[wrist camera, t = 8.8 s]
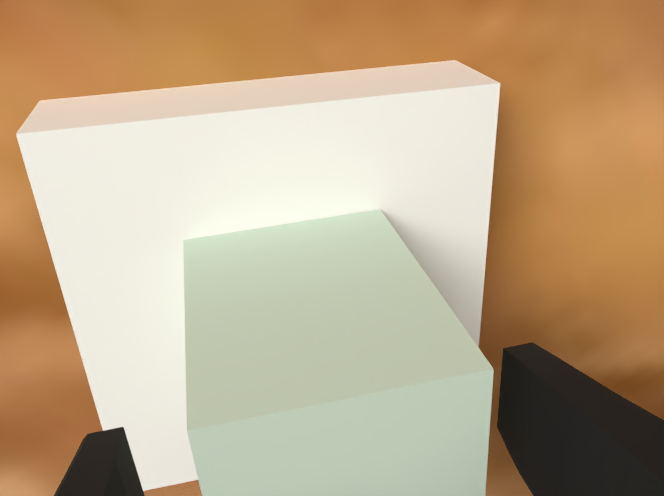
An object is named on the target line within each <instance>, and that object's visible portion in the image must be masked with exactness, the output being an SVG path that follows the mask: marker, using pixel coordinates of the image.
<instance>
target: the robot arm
mask: <svg viewBox="0 0 664 496" xmlns="http://www.w3.org/2000/svg"><path fill="white" fill-rule="evenodd" d="M497 427H498V430H499V432H500V434H501V436H502V438H503V440H504V442H505V445H506V447H507V449H508V451H509V453H510V455H511V457H512V459H513V461H514V463H515V465H516V467H517V469H518V471H519V473H520V475H521V476H522V478H523V480H524V481H525V483H526V484H527V486H528V487H529V489H530V491H531V492H532V494H533V495H534V496H664V420H662V419H660V418H658V417H657V416H655V415H653V414H651V413H649V412H648V411H646V410H644V409H642V408H640V407H639V406H637V405H635V404H633V403H632V402H630V401H628V400H627V399H625V398H623V397H621V396H620V395H618V394H616V393H615V392H613V391H611V390H610V389H608V388H606V387H605V386H603V385H601V384H600V383H598V382H596V381H595V380H593V379H592V378H590V377H588V376H587V375H585V374H583V373H582V372H580V371H579V370H577V369H575V368H574V367H572V366H570V365H569V364H567V363H566V362H564V361H562V360H561V359H559V358H558V357H556V356H554V355H553V354H551V353H549V352H548V351H546V350H544V349H543V348H541V347H539V346H537V345H536V344H534V343H528V344H523V345H518V346H513V347H508V348H503V359H502V372H501V385H500V398H499V410H498V423H497ZM54 496H144V492H143V489H142V486H141V483H140V479H139V476H138V473H137V470H136V466H135V463H134V460H133V456H132V453H131V450H130V447H129V443H128V440H127V437H126V433H125V430H124V427H119V428H114V429H109V430H105V431H100V432H95V433H90V434H87V436H86V437H85V438H84V439H83V441H82V443H81V445H80V447H79V449H78V451H77V453H76V455H75V457H74V459H73V461H72V462H71V464H70V466H69V468H68V470H67V472H66V474H65V476H64V478H63V480H62V482H61V484H60V485H59V487H58V489H57V491H56V493H55V495H54Z"/></svg>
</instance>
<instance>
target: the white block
mask: <svg viewBox="0 0 664 496" xmlns="http://www.w3.org/2000/svg"><path fill="white" fill-rule="evenodd" d="M499 94H500V83H499V82H497V81H495V80H493V79H491V78H489V77H487V76H485V75H484V74H482V73H480V72H478V71H476V70H474V69H472V68H470V67H468V66H466V65H464V64H462V63H460V62H458V61H456V60H452V61H442V62H432V63H422V64H411V65H401V66H391V67H380V68H370V69H360V70H350V71H339V72H329V73H319V74H309V75H298V76H288V77H278V78H268V79H257V80H247V81H237V82H227V83H216V84H206V85H196V86H186V87H175V88H165V89H155V90H144V91H134V92H124V93H114V94H103V95H93V96H83V97H73V98H62V99H52V100H42V101H39V102H38V104H37V105H36V107H35V108H34V110H33V111H32V112H31V114H30V115H29V117H28V118H27V119H26V121H25V122H24V124H23V125H22V126H21V128H20V129H19V131H18V132H17V133H16V136H17V139H18V143H19V146H20V150H21V153H22V156H23V160H24V163H25V167H26V170H27V173H28V177H29V180H30V184H31V187H32V190H33V194H34V197H35V201H36V204H37V207H38V211H39V214H40V218H41V221H42V224H43V228H44V231H45V235H46V238H47V241H48V245H49V248H50V252H51V255H52V259H53V262H54V265H55V269H56V272H57V276H58V279H59V282H60V286H61V289H62V293H63V296H64V299H65V303H66V306H67V310H68V313H69V316H70V320H71V323H72V327H73V330H74V333H75V337H76V340H77V344H78V347H79V350H80V354H81V357H82V361H83V364H84V368H85V371H86V374H87V378H88V381H89V385H90V388H91V391H92V395H93V398H94V402H95V405H96V408H97V412H98V415H99V419H100V422H101V425H102V429H103V431H105V430H109V429H114V428H119V427H124V430H125V433H126V437H127V440H128V443H129V447H130V450H131V453H132V456H133V460H134V463H135V466H136V470H137V473H138V476H139V479H140V483H141V486H142V489H143V491H145V490H150V489H154V488H159V487H164V486H169V485H174V484H179V483H184V482H189V481H194V480H198V476H197V472H196V467H195V463H194V459H193V455H192V450H191V446H190V442H189V438H188V433H187V407H186V355H185V303H184V251H183V240H186V239H193V238H199V237H206V236H212V235H219V234H225V233H232V232H238V231H245V230H251V229H258V228H264V227H271V226H277V225H283V224H290V223H296V222H303V221H309V220H316V219H322V218H329V217H335V216H342V215H348V214H355V213H361V212H367V211H374V210H381V211H382V212H383V214H384V215H385V217H386V218H387V219H388V221H389V222H390V224H391V225H392V227H393V228H394V229H395V231H396V232H397V234H398V235H399V236H400V238H401V239H402V241H403V242H404V243H405V245H406V246H407V248H408V249H409V250H410V252H411V253H412V255H413V256H414V257H415V259H416V260H417V262H418V263H419V265H420V266H421V267H422V269H423V270H424V272H425V273H426V274H427V276H428V277H429V279H430V280H431V281H432V283H433V284H434V286H435V287H436V288H437V290H438V291H439V293H440V294H441V295H442V297H443V298H444V300H445V301H446V303H447V304H448V305H449V307H450V308H451V310H452V311H453V312H454V314H455V315H456V317H457V318H458V319H459V321H460V322H461V324H462V325H463V326H464V328H465V329H466V331H467V332H468V333H469V335H470V336H471V338H472V339H473V341H474V342H475V343H476V345H477V346H478V348H479V337H480V325H481V313H482V301H483V289H484V277H485V264H486V252H487V240H488V228H489V216H490V204H491V191H492V179H493V167H494V155H495V143H496V130H497V118H498V106H499Z"/></svg>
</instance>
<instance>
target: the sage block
mask: <svg viewBox="0 0 664 496" xmlns="http://www.w3.org/2000/svg"><path fill="white" fill-rule="evenodd" d="M183 251H184V303H185V355H186V407H187V433H188V438H189V442H190V446H191V450H192V455H193V459H194V463H195V467H196V472H197V476H198V480H199V484H200V488H201V493H202V496H485V491H486V476H487V461H488V446H489V432H490V417H491V402H492V387H493V373H494V369H493V367H492V366H491V364H490V363H489V362H488V360H487V359H486V357H485V356H484V355H483V353H482V352H481V350H480V349H479V348H478V346H477V345H476V343H475V342H474V341H473V339H472V338H471V336H470V335H469V333H468V332H467V331H466V329H465V328H464V326H463V325H462V324H461V322H460V321H459V319H458V318H457V317H456V315H455V314H454V312H453V311H452V310H451V308H450V307H449V305H448V304H447V303H446V301H445V300H444V298H443V297H442V295H441V294H440V293H439V291H438V290H437V288H436V287H435V286H434V284H433V283H432V281H431V280H430V279H429V277H428V276H427V274H426V273H425V272H424V270H423V269H422V267H421V266H420V265H419V263H418V262H417V260H416V259H415V257H414V256H413V255H412V253H411V252H410V250H409V249H408V248H407V246H406V245H405V243H404V242H403V241H402V239H401V238H400V236H399V235H398V234H397V232H396V231H395V229H394V228H393V227H392V225H391V224H390V222H389V221H388V219H387V218H386V217H385V215H384V214H383V212H382V211H381V210H374V211H367V212H361V213H355V214H348V215H342V216H335V217H329V218H322V219H316V220H309V221H303V222H296V223H290V224H283V225H277V226H271V227H264V228H258V229H251V230H245V231H238V232H232V233H225V234H219V235H212V236H206V237H199V238H193V239H186V240H183Z"/></svg>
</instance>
